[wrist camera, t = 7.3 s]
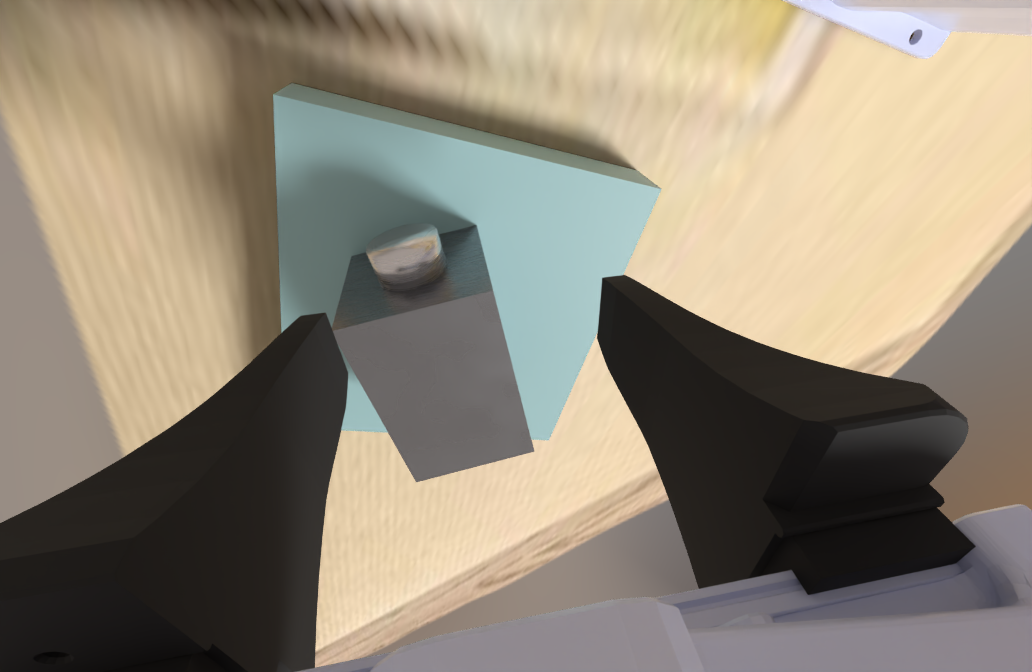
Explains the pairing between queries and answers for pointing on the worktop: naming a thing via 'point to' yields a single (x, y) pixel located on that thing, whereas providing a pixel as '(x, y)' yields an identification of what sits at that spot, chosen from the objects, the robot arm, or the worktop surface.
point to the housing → (432, 349)
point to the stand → (455, 227)
